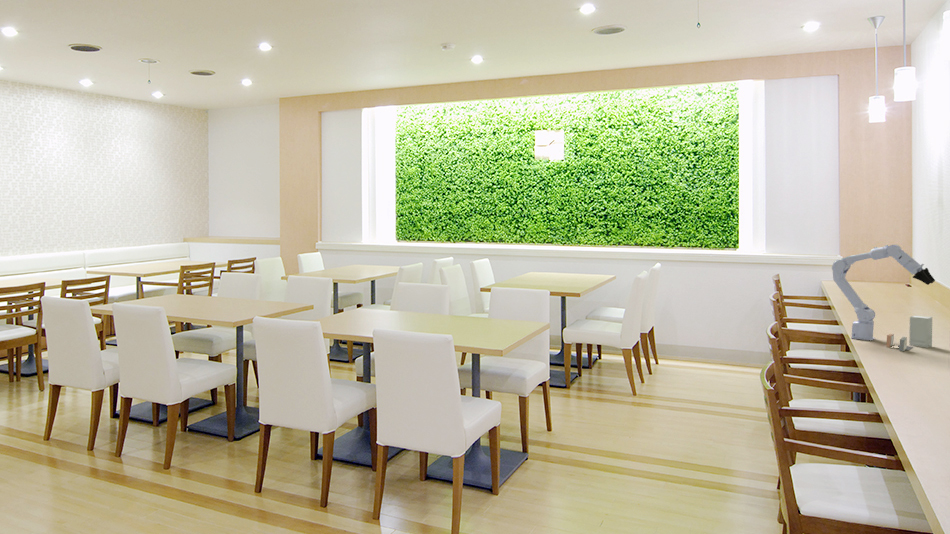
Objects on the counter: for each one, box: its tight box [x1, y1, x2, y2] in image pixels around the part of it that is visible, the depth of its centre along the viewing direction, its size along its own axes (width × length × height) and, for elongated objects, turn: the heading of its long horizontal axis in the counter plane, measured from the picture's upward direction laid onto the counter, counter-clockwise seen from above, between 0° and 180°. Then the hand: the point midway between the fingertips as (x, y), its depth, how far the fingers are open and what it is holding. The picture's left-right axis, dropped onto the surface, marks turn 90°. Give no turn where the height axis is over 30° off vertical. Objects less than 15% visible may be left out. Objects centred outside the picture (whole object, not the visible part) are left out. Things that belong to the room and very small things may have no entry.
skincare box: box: [908, 315, 933, 349], centre depth 332 cm, size 8×6×15 cm
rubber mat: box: [897, 344, 914, 351], centre depth 328 cm, size 8×10×1 cm
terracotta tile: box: [885, 333, 895, 348], centre depth 331 cm, size 2×6×6 cm, turn 136°
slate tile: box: [898, 336, 908, 353], centre depth 321 cm, size 2×6×6 cm, turn 136°
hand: (931, 282), depth 327 cm, fingers open, 7 cm apart
